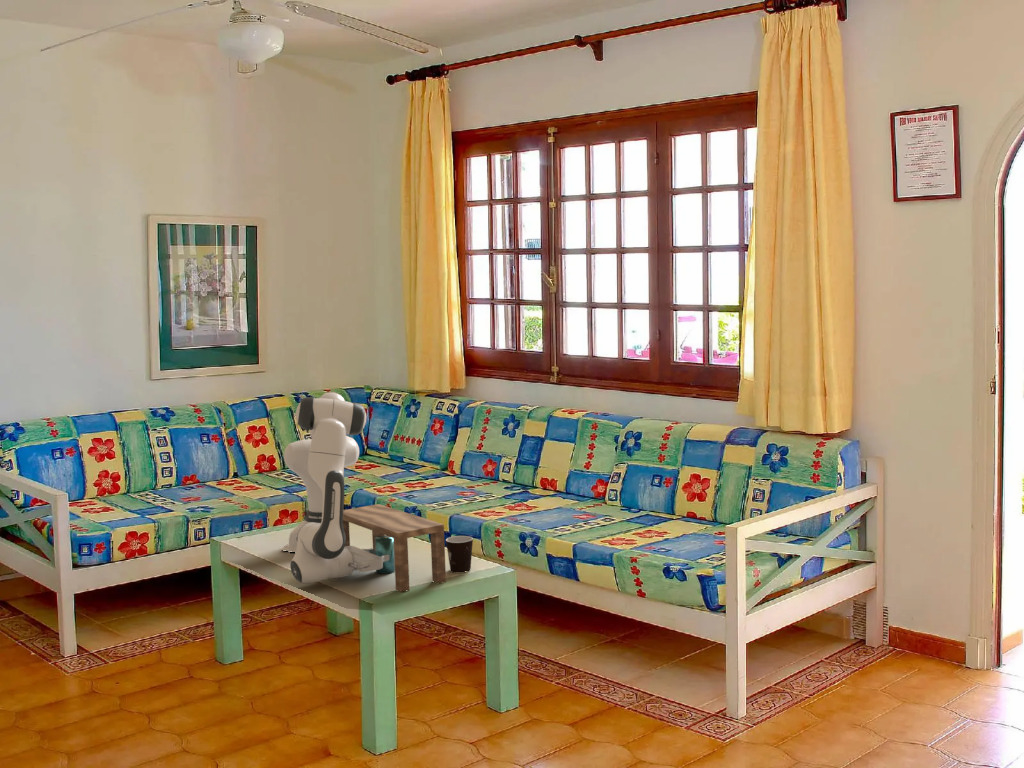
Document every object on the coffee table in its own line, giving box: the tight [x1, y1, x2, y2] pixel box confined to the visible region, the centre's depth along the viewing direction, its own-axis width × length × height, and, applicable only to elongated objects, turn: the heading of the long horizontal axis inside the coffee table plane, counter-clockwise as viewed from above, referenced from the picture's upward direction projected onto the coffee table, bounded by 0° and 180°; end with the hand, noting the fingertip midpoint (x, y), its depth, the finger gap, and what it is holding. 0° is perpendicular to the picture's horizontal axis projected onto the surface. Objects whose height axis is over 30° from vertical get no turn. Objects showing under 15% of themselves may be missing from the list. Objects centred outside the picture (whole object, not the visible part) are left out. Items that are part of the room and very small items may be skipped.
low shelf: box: [343, 503, 447, 593], centre depth 339 cm, size 16×40×18 cm, turn 36°
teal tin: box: [375, 535, 395, 575], centre depth 342 cm, size 6×6×11 cm
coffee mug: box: [445, 535, 474, 573], centre depth 339 cm, size 12×9×10 cm
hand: (381, 554), depth 341 cm, fingers open, 8 cm apart
